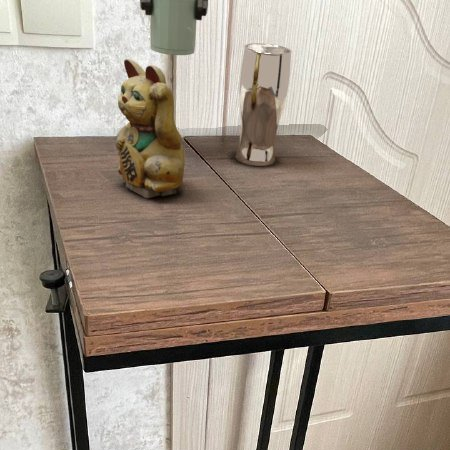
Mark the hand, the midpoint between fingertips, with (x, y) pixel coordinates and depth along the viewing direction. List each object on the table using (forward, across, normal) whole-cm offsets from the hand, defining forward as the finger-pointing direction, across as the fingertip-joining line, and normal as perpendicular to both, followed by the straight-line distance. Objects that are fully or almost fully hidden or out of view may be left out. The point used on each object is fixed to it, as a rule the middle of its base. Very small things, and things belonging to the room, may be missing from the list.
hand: (173, 13), depth 81 cm
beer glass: (+12, +13, +14) cm, 23 cm away
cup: (+2, 0, +4) cm, 5 cm away
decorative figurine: (+22, -2, +4) cm, 22 cm away
